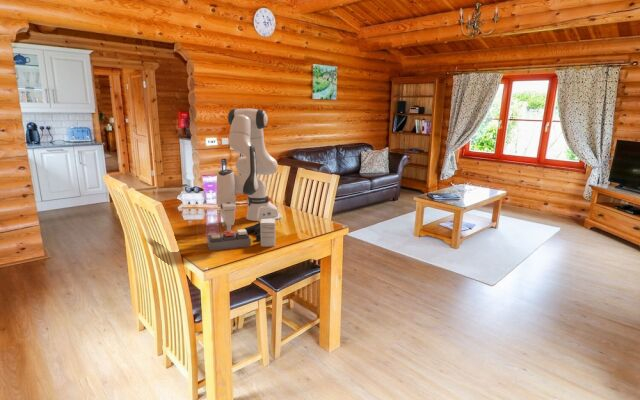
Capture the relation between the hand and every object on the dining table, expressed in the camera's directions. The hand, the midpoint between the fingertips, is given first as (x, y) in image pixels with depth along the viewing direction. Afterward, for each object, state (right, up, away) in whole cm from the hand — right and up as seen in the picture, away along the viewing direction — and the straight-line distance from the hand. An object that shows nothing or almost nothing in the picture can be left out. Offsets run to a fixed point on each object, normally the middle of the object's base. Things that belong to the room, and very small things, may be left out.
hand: (227, 229), depth 188 cm
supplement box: (+21, -8, +2) cm, 22 cm away
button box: (+1, -8, 0) cm, 8 cm away
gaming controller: (+13, -5, +14) cm, 20 cm away
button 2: (+8, -2, -1) cm, 8 cm away
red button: (+2, -3, -4) cm, 5 cm away
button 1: (-4, -4, -6) cm, 8 cm away
